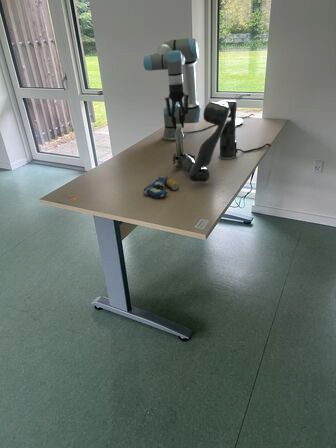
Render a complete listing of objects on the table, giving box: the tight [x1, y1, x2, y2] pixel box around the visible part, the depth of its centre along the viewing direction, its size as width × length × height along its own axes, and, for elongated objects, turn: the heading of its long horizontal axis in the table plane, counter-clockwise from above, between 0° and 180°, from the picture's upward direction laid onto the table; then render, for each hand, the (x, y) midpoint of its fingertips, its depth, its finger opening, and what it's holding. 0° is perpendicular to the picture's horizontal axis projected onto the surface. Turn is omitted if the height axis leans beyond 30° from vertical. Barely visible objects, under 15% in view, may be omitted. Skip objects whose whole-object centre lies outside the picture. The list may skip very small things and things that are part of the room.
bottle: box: [175, 128, 185, 168], centre depth 194 cm, size 4×4×24 cm
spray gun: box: [143, 175, 180, 199], centre depth 172 cm, size 21×4×15 cm
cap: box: [176, 124, 183, 129], centre depth 188 cm, size 4×4×2 cm
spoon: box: [236, 117, 244, 127], centre depth 260 cm, size 35×11×2 cm, turn 159°
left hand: (178, 127), depth 189 cm, fingers closed on cap, 4 cm apart
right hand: (178, 154), depth 199 cm, fingers closed on bottle, 4 cm apart
